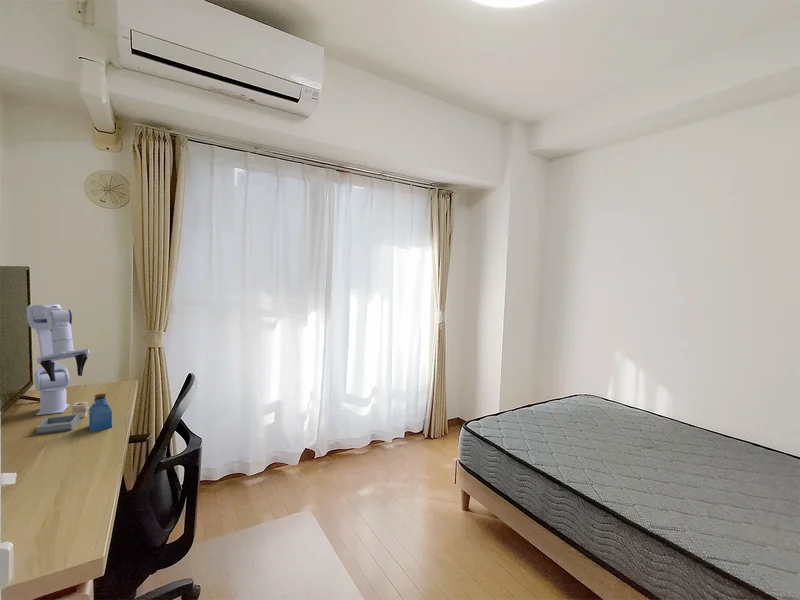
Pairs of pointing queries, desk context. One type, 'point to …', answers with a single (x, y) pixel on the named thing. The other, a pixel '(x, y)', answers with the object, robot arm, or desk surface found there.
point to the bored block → (80, 409)
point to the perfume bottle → (100, 414)
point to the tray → (58, 424)
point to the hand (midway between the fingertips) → (66, 378)
